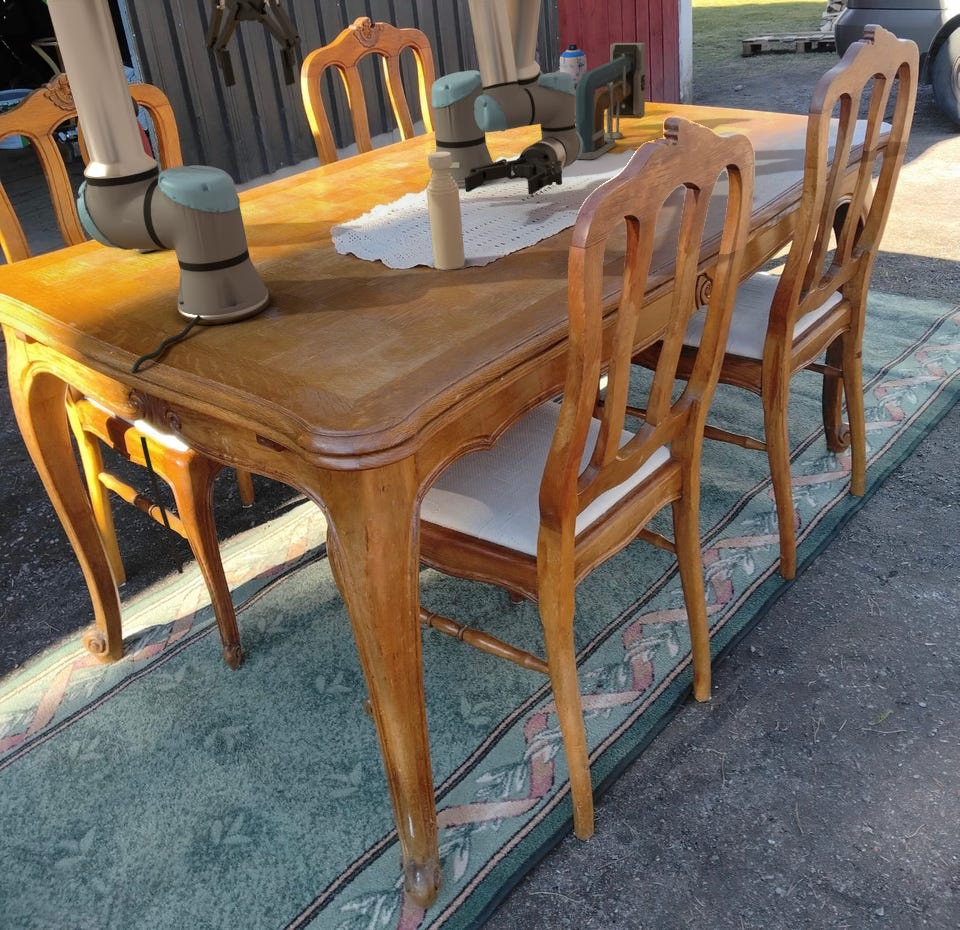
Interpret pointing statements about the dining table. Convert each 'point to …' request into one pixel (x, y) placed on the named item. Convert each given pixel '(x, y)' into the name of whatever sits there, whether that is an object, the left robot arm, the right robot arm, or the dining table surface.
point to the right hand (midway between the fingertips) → (497, 186)
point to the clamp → (610, 97)
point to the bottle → (445, 220)
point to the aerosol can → (574, 64)
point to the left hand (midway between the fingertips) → (260, 85)
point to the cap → (439, 160)
